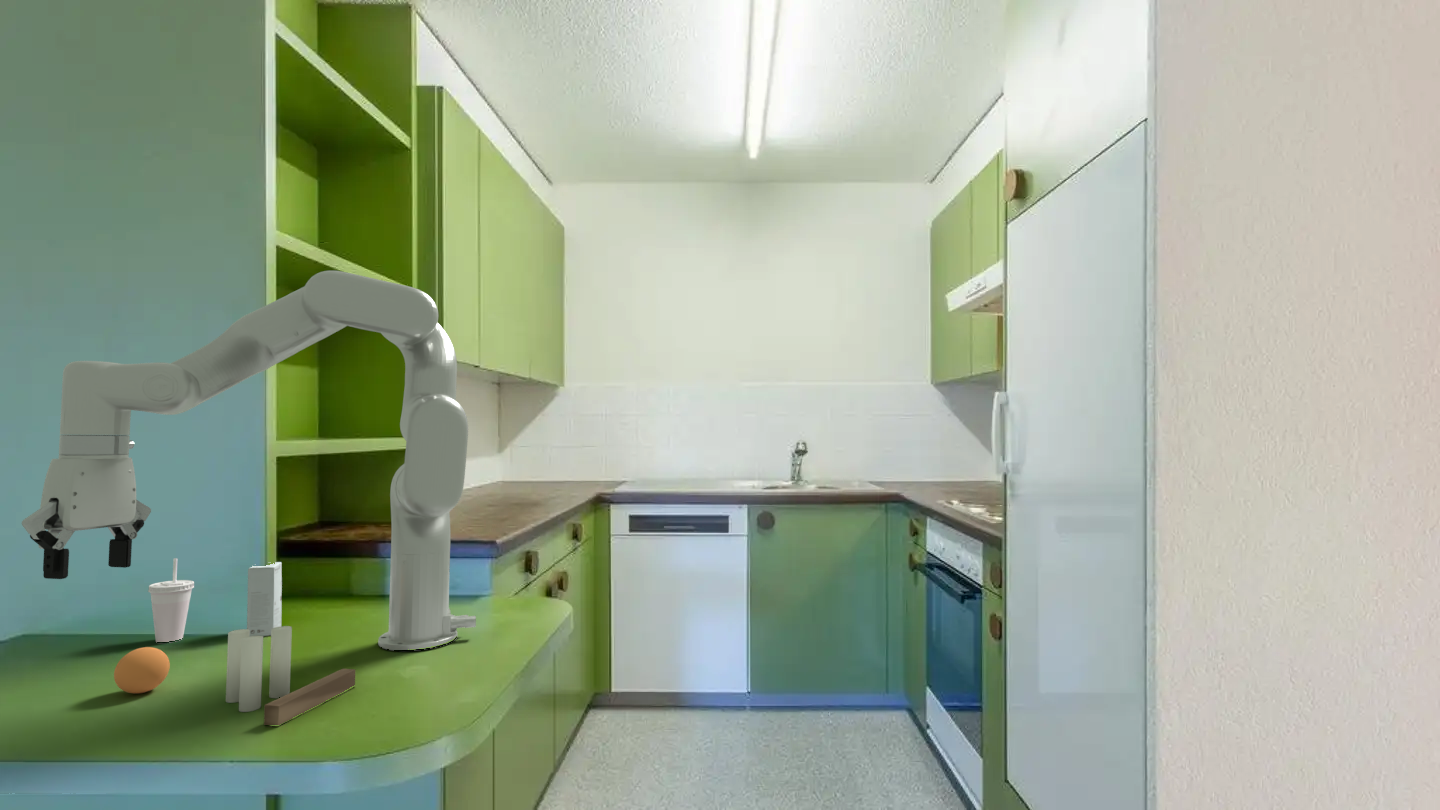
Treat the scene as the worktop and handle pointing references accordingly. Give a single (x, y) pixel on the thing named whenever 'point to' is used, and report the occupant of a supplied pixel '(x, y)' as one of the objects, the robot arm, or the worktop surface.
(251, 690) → the pin left
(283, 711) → the brown wooden bar
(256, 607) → the skincare box
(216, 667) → the worktop surface
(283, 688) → the pin right
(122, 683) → the brown egg
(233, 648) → the pin front
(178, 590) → the smoothie
